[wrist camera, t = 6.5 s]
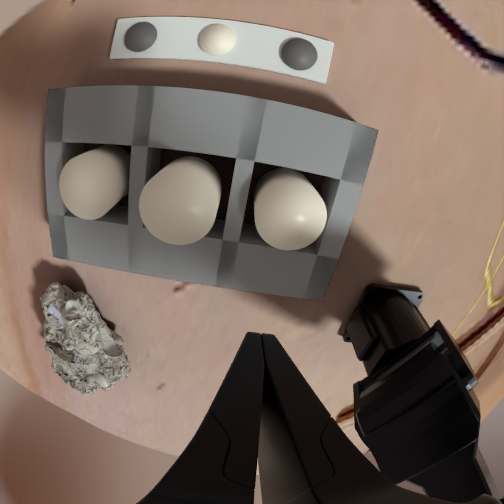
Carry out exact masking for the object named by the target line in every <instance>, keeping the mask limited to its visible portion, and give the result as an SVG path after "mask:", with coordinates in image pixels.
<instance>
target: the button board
mask: <svg viewBox="0 0 504 504" xmlns="http://www.w3.org/2000/svg"><path fill="white" fill-rule="evenodd" d="M377 134H378V130H377V129H374V128H371V127H369V126H366V125H363V124H359V123H356V122H353V121H350V120H347V119H344V118H340V117H337V116H333V115H330V114H326V113H323V112H319V111H315V110H311V109H307V108H303V107H299V106H295V105H291V104H286V103H282V102H277V101H272V100H267V99H262V98H256V97H251V96H245V95H239V94H232V93H225V92H218V91H210V90H201V89H191V88H180V87H166V86H143V85H102V86H80V87H67V88H56V89H48V98H47V110H46V125H45V183H46V199H47V211H48V221H49V229H50V237H51V244H52V250H53V256H54V257H56V258H60V259H65V260H70V261H75V262H79V263H84V264H89V265H94V266H99V267H104V268H110V269H115V270H120V271H125V272H131V273H136V274H142V275H148V276H153V277H159V278H165V279H171V280H177V281H183V282H189V283H195V284H201V285H208V286H214V287H221V288H228V289H235V290H241V291H249V292H256V293H263V294H270V295H278V296H286V297H294V298H302V299H310V300H319V301H323V298H324V296H325V293H326V291H327V288H328V286H329V283H330V281H331V278H332V275H333V273H334V270H335V267H336V265H337V262H338V259H339V256H340V254H341V251H342V248H343V245H344V242H345V240H346V237H347V234H348V231H349V228H350V225H351V222H352V219H353V216H354V213H355V210H356V207H357V204H358V201H359V197H360V194H361V191H362V188H363V184H364V181H365V178H366V174H367V171H368V167H369V164H370V160H371V157H372V153H373V149H374V146H375V142H376V138H377ZM84 143H99V144H117V145H131V146H132V147H131V160H130V176H129V201H128V206H123V205H114V206H113V207H112V208H111V209H110V210H109V211H108V212H107V213H106V214H104V215H103V216H102V217H100V218H98V219H94V220H85V219H82V218H79V217H77V216H75V215H74V214H73V213H71V212H70V211H69V209H68V208H67V207H66V206H65V204H64V202H63V200H62V198H61V195H60V190H59V179H60V175H61V172H62V169H63V168H64V166H65V165H66V163H67V162H68V161H69V160H71V159H72V158H74V157H76V156H78V155H81V154H83V153H84ZM161 148H164V149H173V150H181V151H190V152H197V153H205V154H212V155H218V156H225V157H231V158H236V163H235V168H234V174H233V179H232V185H231V191H230V197H229V203H228V209H227V215H226V220H219V219H215V221H214V224H213V226H212V228H211V229H210V231H209V232H208V233H207V234H206V235H205V236H204V237H203V238H202V239H200V240H198V241H196V242H194V243H191V244H187V245H173V244H169V243H166V242H163V241H161V240H159V239H158V238H156V237H155V236H154V235H152V234H151V233H150V232H149V231H148V229H147V228H146V227H145V225H144V223H143V221H142V219H141V216H140V211H139V199H140V195H141V192H142V190H143V188H144V186H145V185H146V184H147V182H148V181H149V180H150V179H151V178H152V177H154V176H155V175H156V174H157V173H158V172H159V165H160V155H161ZM254 162H260V163H266V164H271V165H276V166H281V167H286V168H291V169H296V170H300V171H305V172H310V173H314V174H318V175H323V176H325V178H324V182H323V185H322V189H321V193H320V196H321V198H322V199H323V201H324V203H325V206H326V211H327V220H326V224H325V227H324V229H323V231H322V233H321V234H320V236H319V237H318V238H317V239H316V240H315V241H314V242H313V243H311V244H310V245H308V246H306V247H304V248H301V249H297V250H281V249H277V248H275V247H273V246H271V245H269V244H268V243H266V242H265V241H264V240H263V239H262V238H261V236H260V235H259V233H258V231H257V228H256V225H250V224H244V223H243V218H244V213H245V208H246V202H247V197H248V192H249V187H250V182H251V177H252V172H253V167H254Z"/></svg>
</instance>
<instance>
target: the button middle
mask: <svg viewBox="0 0 504 504" xmlns="http://www.w3.org/2000/svg"><path fill="white" fill-rule="evenodd" d="M221 194H222V183H221V179H220V176H219V174H218V172H217V171H216V169H215V168H214V167H213V166H212V165H211V164H210V163H208V162H207V161H205V160H203V159H201V158H198V157H193V156H185V157H180V158H177V159H175V160H173V161H172V162H170V163H169V164H168V165H166V166H165V167H164V168H163V169H162V170H161V171H159V172H158V173H157V174H156V175H155V176H154V177H152V178H151V179H150V180H149V181H148V182H147V184H146V185H145V186H144V188H143V190H142V192H141V195H140V199H139V211H140V216H141V219H142V221H143V223H144V225H145V227H146V228H147V229H148V231H149V232H150V233H151V234H152V235H154V236H155V237H156V238H158V239H159V240H161V241H163V242H166V243H169V244H173V245H187V244H191V243H194V242H196V241H198V240H200V239H202V238H203V237H204V236H205V235H206V234H207V233H208V232H209V231H210V229H211V228H212V226H213V224H214V221H215V218H216V214H217V210H218V206H219V202H220V198H221Z"/></svg>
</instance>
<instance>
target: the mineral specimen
mask: <svg viewBox="0 0 504 504" xmlns="http://www.w3.org/2000/svg"><path fill="white" fill-rule="evenodd" d="M40 300H41V302H42V308H43V313H44V315H45V321H44V324H43V327H42V328H43V329H44V337H45V340H46V345H45V349H46V351H47V352H48V354H49V355H51V356H52V365H51V366H52V368H53V371H54V373H55V374H58V375H59V376H60V377H61V378H62V379H63V380H64V382H65V383H66V384H70V386H71V387H72V388H73V389H74V390H78V391H80V392H81V393H82V394H89V395H90V396H91V395H94V394H93V391H95V390H97V387H98V388H102V389H103V390H107V389H109V388H110V389H112V388H113V387H114V386H115V383H116V382H118V380H119V381H121V380H122V379H125V378H126V379H127V377H128V374H130V372H131V369H130V362H129V361H128V358H127V355H125V352H124V347H123V343H124V340H123V339H122V337H121V336H119V335H117V334H116V332H115V331H113V330H110V328H108V327H107V324H106V322H104V321H103V319H101V317H100V313H99V312H98V311H97V310H95V306H94V304H93V303H92V299H91V298H90V297H89V295H88V294H84V292H76V293H74V292H73V291H72V290H71V289H70V288H69V287H67V286H66V285H64V284H63V285H61V284H59V282H57V281H56V282H53V283H51V284H49V286H48V287H47V289H46V293H43V294H42V296H41V297H40Z"/></svg>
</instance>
